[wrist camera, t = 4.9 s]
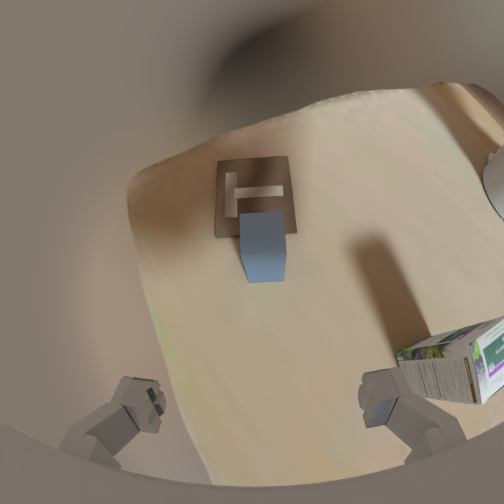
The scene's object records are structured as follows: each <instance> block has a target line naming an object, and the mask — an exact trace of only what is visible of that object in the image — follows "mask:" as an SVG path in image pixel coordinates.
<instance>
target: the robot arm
mask: <svg viewBox="0 0 504 504" xmlns="http://www.w3.org/2000/svg"><path fill="white" fill-rule="evenodd" d="M483 183H484V187H485V190H486V192H487V195H488V197H489V199H490V201H491V203H492V204H493V206H494V208H495V209H496V211H497V212H498V213H499V215H500V216H501V217H502V218H503V219H504V145H503V146H502V147H501V148H500V149H499V150H498V151H497V152H496V153H495V154H494V153H490V154H489V155H488V157H487V165H486V166H485V167H484V170H483ZM362 382H363V384H362V385H361V386H360V387H359V391H358V400H359V405H360V408H362V409H363V410H364V413H363V419H364V422H365V426H366V428H371V427H376V426H381V425H385V426H386V427H388V428H389V429H390V430H391V431H392V432H393V433H394V434H395V435H397V436H398V437H399V438H400V439H401V440H402V441H403V442H404V443H406V444H407V445H408V446H409V447H410V448H411V449H412V451H411V453H410V454H409V455H408V457H407V458H406V459H405V461H404V462H405V465H401V466H398V467H394V468H391V469H387V470H383V471H379V472H375V473H371V474H366V475H362V476H357V477H352V478H346V479H340V480H334V481H327V482H320V483H311V484H301V485H289V486H266V487H241V486H219V485H206V484H196V483H188V482H187V483H186V482H180V481H173V480H167V479H161V478H156V477H150V476H146V475H141V474H136V473H132V472H128V471H124V470H120V469H121V465H120V463H119V462H118V461H117V460H116V459H115V458H114V457H113V456H115V455H116V454H117V453H118V452H119V451H120V450H121V449H122V448H123V447H124V446H125V445H126V444H127V443H129V442H130V441H131V440H132V439H133V438H134V437H135V436H136V435H137V434H138V433H139V431H143V432H150V433H158V431H159V428H160V425H161V422H162V421H161V419H160V416H161V415H162V414H164V412H165V408H166V399H165V396H164V393H163V392H162V391H160V390H159V388H160V384H159V382H158V381H157V380H151V379H143V378H136V377H128V376H124V377H123V378H122V379H121V381H120V383H119V385H118V387H117V389H116V391H115V393H114V395H113V397H112V399H111V401H110V403H106V404H104V405H103V406H101V407H100V408H98V409H96V410H95V411H93V412H92V413H91V414H89V415H87V416H86V417H85V418H83V419H81V420H80V421H78V422H76V423H75V424H73V425H72V426H70V427H69V428H68V430H67V432H66V434H65V436H64V438H63V440H62V442H61V444H60V446H59V448H55V447H53V446H51V445H48V444H46V443H44V442H42V441H40V440H38V439H35V438H33V437H31V436H29V435H27V434H25V433H23V432H21V431H20V430H18V429H16V428H14V427H12V426H10V425H8V424H6V423H0V504H504V422H502V423H500V424H499V425H497V426H495V427H493V428H491V429H489V430H488V431H486V432H484V433H482V434H480V435H478V436H476V437H474V438H472V439H469V440H467V439H466V436H465V434H464V432H463V430H462V428H461V426H460V424H459V422H458V420H457V418H456V417H454V416H452V415H451V414H449V413H447V412H446V411H444V410H442V409H441V408H439V407H437V406H436V405H434V404H432V403H431V402H429V401H427V400H426V399H424V398H423V397H421V396H419V395H418V394H413V393H412V391H411V389H410V387H409V384H408V382H407V380H406V378H405V376H404V374H403V372H402V370H401V368H400V367H393V368H388V369H382V370H377V371H371V372H365V373H364V374H363V376H362Z"/></svg>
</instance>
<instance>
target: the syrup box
mask: <svg viewBox="0 0 504 504" xmlns="http://www.w3.org/2000/svg"><path fill="white" fill-rule="evenodd" d="M396 356H397V359H398V362H399V366H400V368H401V370H402V372H403V374H404V376H405V378H406V380H407V382H408V384H409V387H410V389H411V391H412V393H413V394H418V395H419V396H421V397H423V398H428V399H435V400H442V401H448V402H456V403H464V404H473V405H483V404H484V403H485V402H486V401H487V400H488V399H490V398H491V397H492V396H494V395H495V394H496V393H498V392H499V391H500V390H501V389H502V388H504V316H502V317H499V318H496V319H493V320H490V321H486V322H482V323H479V324H475V325H472V326H468V327H464V328H461V329H457V330H453V331H449V332H445V333H441V334H438V335H434V336H430V337H428V338H426V339H424V340H422V341H420V342H418V343H416V344H414V345H412V346H410V347H408V348H406V349H404V350H402V351H400V352H398V353H396Z"/></svg>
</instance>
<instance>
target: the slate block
mask: <svg viewBox="0 0 504 504" xmlns="http://www.w3.org/2000/svg"><path fill="white" fill-rule="evenodd" d="M240 255H241V258H242V262H243V265H244V268H245V271H246V274H247V277H248V281H249V283H258V282H276V281H284V273H285V262H286V241H285V229H284V218H283V211H278V212H262V213H246V214H240Z"/></svg>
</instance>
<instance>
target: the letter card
mask: <svg viewBox="0 0 504 504" xmlns="http://www.w3.org/2000/svg"><path fill="white" fill-rule="evenodd" d="M278 211H283V218H284V229H285V234H290V233H297V229H296V220H295V211H294V203H293V194H292V186H291V179H290V171H289V164H288V156H285V157H266V158H252V159H239V160H228V161H218V171H217V194H216V222H215V237H216V238H224V237H240V214H246V213H262V212H278Z"/></svg>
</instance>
